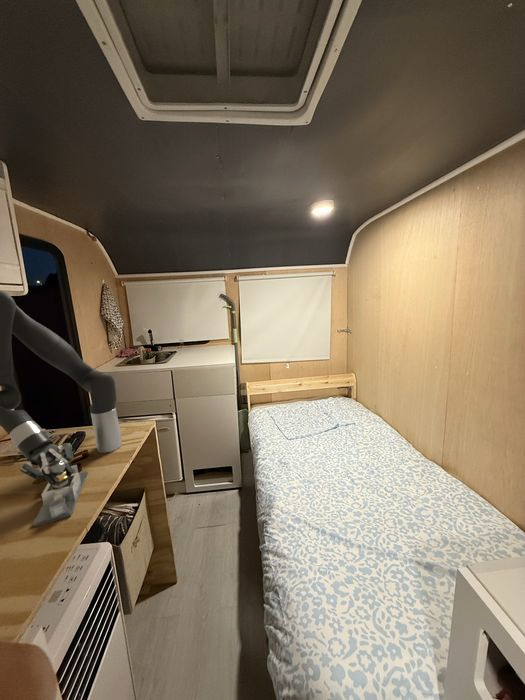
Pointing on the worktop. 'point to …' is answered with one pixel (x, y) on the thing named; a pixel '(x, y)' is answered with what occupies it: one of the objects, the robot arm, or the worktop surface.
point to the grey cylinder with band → (59, 473)
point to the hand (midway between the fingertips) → (63, 478)
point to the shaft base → (69, 504)
